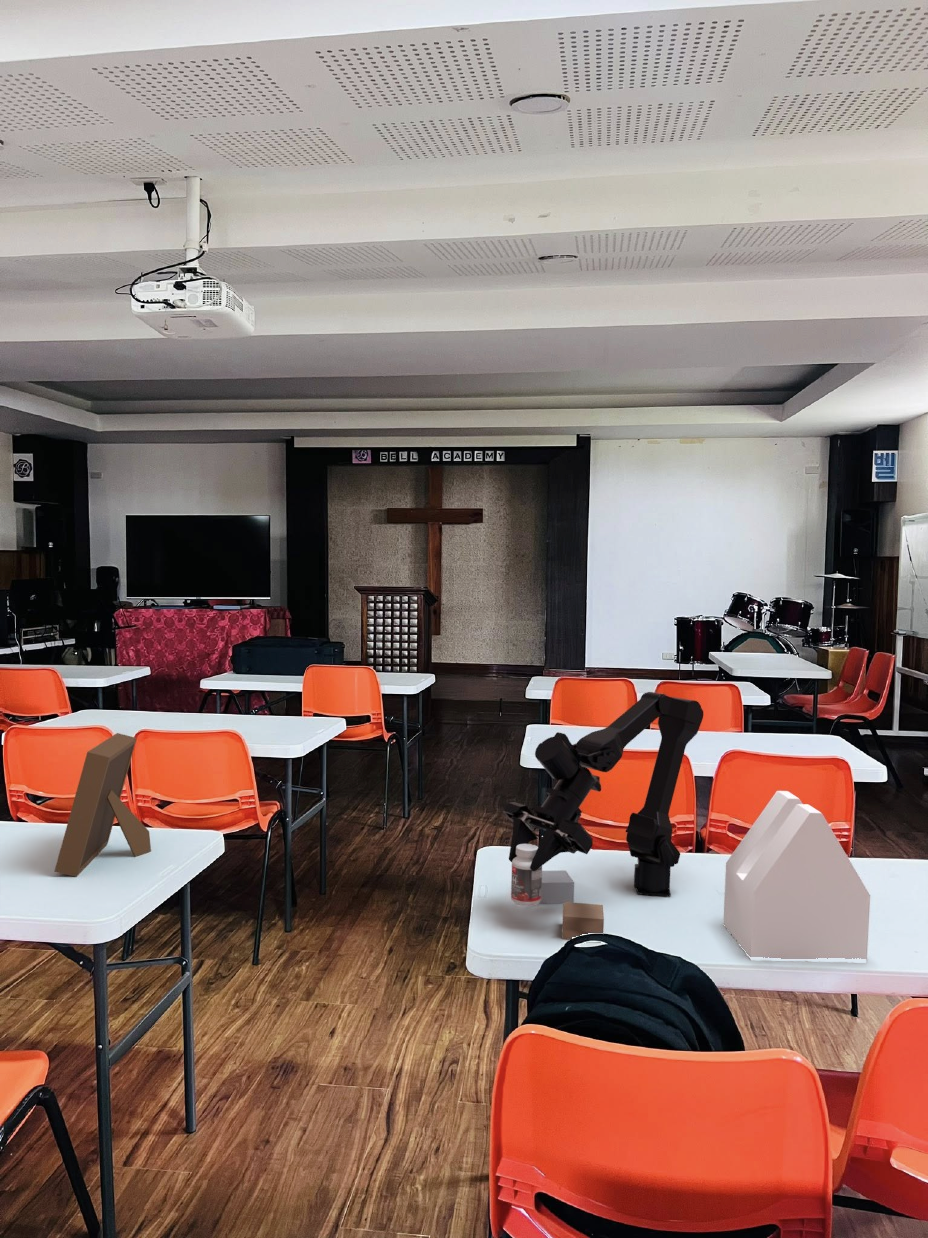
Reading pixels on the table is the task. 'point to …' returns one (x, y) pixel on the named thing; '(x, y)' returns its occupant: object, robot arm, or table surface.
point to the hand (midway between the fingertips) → (521, 865)
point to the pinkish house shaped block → (795, 888)
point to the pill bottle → (525, 877)
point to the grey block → (557, 887)
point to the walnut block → (581, 919)
